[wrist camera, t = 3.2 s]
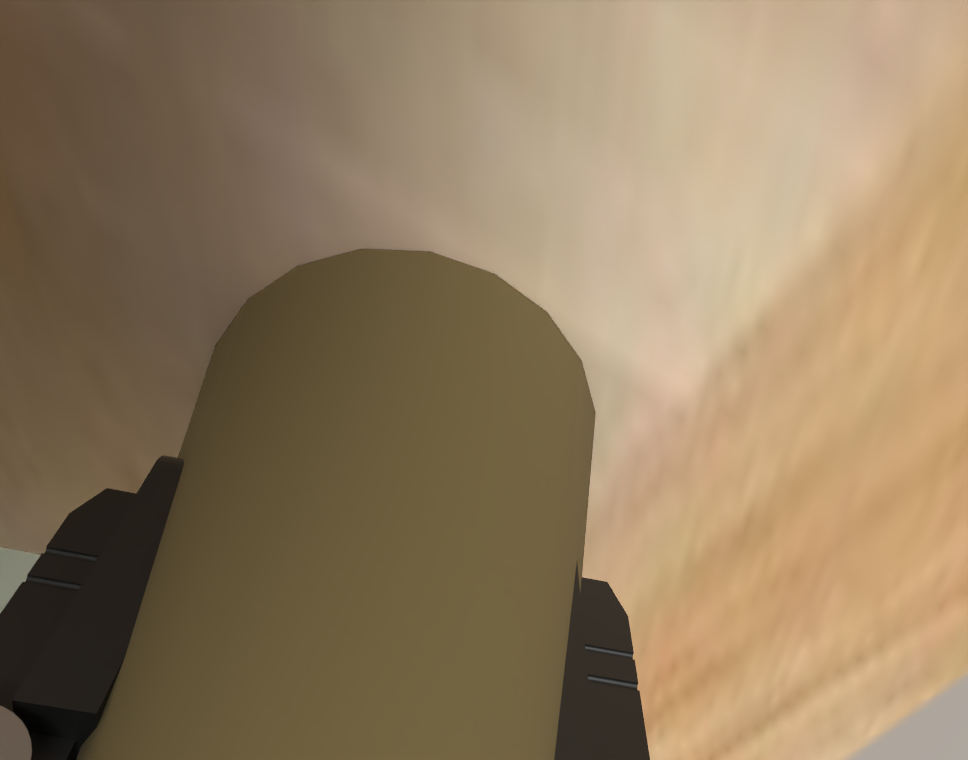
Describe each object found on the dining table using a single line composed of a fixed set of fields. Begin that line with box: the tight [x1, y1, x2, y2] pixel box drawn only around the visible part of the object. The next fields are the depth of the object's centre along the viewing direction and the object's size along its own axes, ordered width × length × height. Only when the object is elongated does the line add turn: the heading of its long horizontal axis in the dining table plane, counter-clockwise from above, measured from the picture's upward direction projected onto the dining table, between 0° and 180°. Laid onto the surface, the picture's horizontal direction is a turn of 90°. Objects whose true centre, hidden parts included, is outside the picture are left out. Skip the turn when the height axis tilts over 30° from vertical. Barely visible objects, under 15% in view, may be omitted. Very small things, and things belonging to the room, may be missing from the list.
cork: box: [76, 249, 595, 760], centre depth 8 cm, size 6×6×11 cm
